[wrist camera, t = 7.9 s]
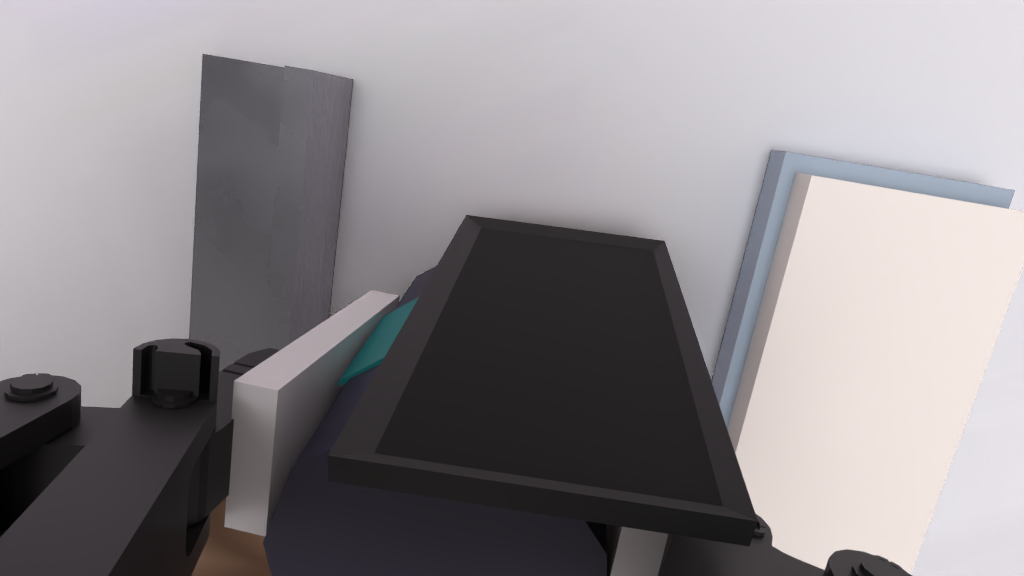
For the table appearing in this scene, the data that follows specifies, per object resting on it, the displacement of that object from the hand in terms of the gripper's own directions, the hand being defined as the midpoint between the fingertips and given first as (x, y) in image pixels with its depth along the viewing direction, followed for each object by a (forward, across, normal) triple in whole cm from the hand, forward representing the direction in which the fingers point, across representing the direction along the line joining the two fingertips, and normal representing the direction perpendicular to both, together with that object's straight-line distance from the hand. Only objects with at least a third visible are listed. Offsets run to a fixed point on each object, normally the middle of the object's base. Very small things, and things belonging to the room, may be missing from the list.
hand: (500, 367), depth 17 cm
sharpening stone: (+5, +9, 0) cm, 11 cm away
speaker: (+2, 0, 0) cm, 2 cm away
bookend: (+5, -9, -1) cm, 10 cm away
